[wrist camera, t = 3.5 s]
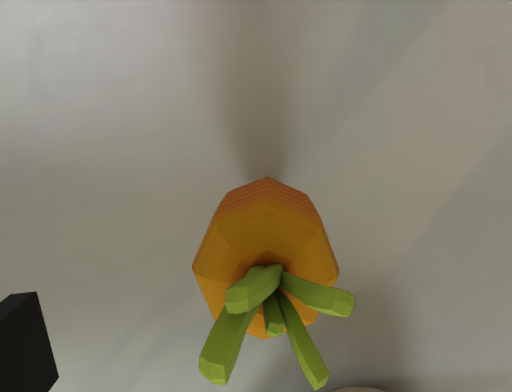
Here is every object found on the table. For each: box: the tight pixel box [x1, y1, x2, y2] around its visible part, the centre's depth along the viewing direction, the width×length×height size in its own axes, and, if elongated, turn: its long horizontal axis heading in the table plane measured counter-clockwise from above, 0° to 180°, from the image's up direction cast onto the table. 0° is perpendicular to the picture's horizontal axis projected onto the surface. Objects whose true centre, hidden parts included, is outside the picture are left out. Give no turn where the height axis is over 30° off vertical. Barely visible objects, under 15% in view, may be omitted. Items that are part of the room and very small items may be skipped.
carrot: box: [192, 177, 355, 391], centre depth 18 cm, size 5×5×15 cm
